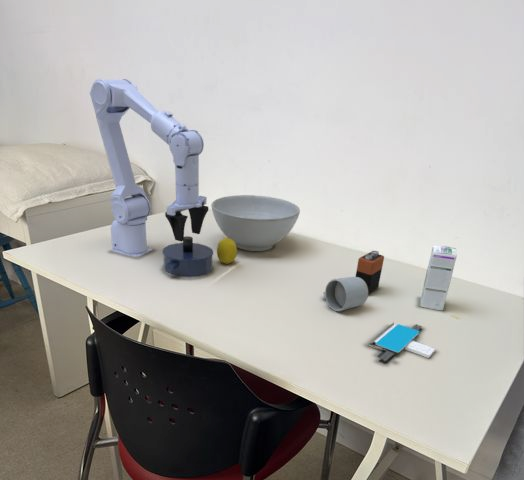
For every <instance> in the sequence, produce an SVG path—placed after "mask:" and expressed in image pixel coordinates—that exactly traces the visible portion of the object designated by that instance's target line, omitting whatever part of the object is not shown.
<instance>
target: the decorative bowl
mask: <svg viewBox="0 0 524 480" xmlns="http://www.w3.org/2000/svg"><path fill="white" fill-rule="evenodd" d="M211 211H212V214H213V217H214V220H215V222H216V224H217V226H218V227H219V229H220V230H221V232H222V233H223V234H224V236H225V237H229V238H230V239H232V240H233V241H234V242H235V244H236V247H237V249H241V250H244V251H248V252H249V251H250V252H265V251H268V250H271V249H273V248H274V245H275V244H277V243H279V242H281V241H282V240H283V239H285V238H286V237H287V236H288V235H289V233H290V232H291V231H292V229H294V227H295V225H296V223H297V221H298V219H299V216H300V214H301V209H300V207H299V206H298V205H296V204H295V203H293V202H291V201H288V200H285V199H283V198H282V199H281V198H278V197H273V196H266V195H257V194H255V195H253V194H239V195H238V194H237V195H227V196H222V197H219V198H216V199H214V200H213V201H212V202H211Z"/></svg>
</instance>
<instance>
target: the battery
mask: <svg viewBox="0 0 524 480" xmlns="http://www.w3.org/2000/svg"><path fill="white" fill-rule="evenodd" d="M379 252H380V251H378V250H371V251H369V252H367V253H365V254H364V255H362V256H360V257H358V258H357V259H358V260H357V266H356V272H355V277H359V278H361V279H363V280H364V281H365V282H366V284H367V286H368V295H369V294H371V293H372V292H374V291H375V290H377V289H379V285H380V281H381V275H382V270H383V267H384V261H385V255H382V254H380V253H379Z"/></svg>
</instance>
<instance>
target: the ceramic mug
mask: <svg viewBox="0 0 524 480" xmlns="http://www.w3.org/2000/svg"><path fill="white" fill-rule="evenodd" d="M322 294H323V299H325V301H326V304H327V306H328V307H329V308H330V309H331V310H333V311H335V312H342V311H345V310H349V309H352V308H356V307H360V306H362V305H363V304H364V303H366V301H367V300H368V298H369V294H368V286H367V284H366V282H365V281H364V280H363V279H361V278H359V277H356V276H348V277H341V278H333V279H331V280H330V281H328V282H327V284H326V286H325V289H324V291H323V293H322Z"/></svg>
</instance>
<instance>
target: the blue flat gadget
mask: <svg viewBox="0 0 524 480" xmlns="http://www.w3.org/2000/svg"><path fill="white" fill-rule="evenodd" d="M422 330H423V326H422V325H420V324H417V323H415V325H413V326H412V327H408V326H406V325H402V324H400V323H399V324H395V322H392V323H391V324H389V325H388V326H387V327H386V328H385V329H384V330H383V331H381V332H380V333H379V334H377V335H376V337H374V338H373V339H372V340H371V342H370V343H368V345H367V347H370V348H373V349H375V350H378V351H381V352H380V353H379V354H378V355H377V357H378V358H379V360H378V362H381V363H383V364H387V363H388V362H389V361H391V360H392V359H393V358H394V357H395V356H396V355H397V354H398V353H400V352H403V351H404V350H406V351H408V352H412V353H414V354H416V355H419V356H421V357H424V358H427V359H429V358H430V357H431V356H432V355H433V354H434V353H435V352H436V348H435V347H432V346H429V345H426V344H423V343H420V342H418V341H415V339H416V337H417V336H418V335H419V334H420V333H421V331H422Z"/></svg>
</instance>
